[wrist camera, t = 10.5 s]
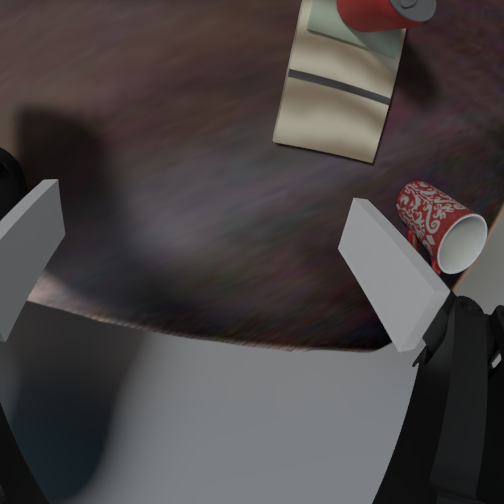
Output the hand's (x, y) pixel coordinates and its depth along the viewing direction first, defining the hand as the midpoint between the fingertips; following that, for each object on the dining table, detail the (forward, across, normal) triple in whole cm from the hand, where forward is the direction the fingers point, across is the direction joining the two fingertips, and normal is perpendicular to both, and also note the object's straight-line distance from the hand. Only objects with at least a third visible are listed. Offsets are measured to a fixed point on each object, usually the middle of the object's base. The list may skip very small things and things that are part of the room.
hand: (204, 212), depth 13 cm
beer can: (+25, +16, +17) cm, 34 cm away
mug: (+26, +32, -9) cm, 42 cm away
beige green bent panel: (+26, +16, +10) cm, 33 cm away
